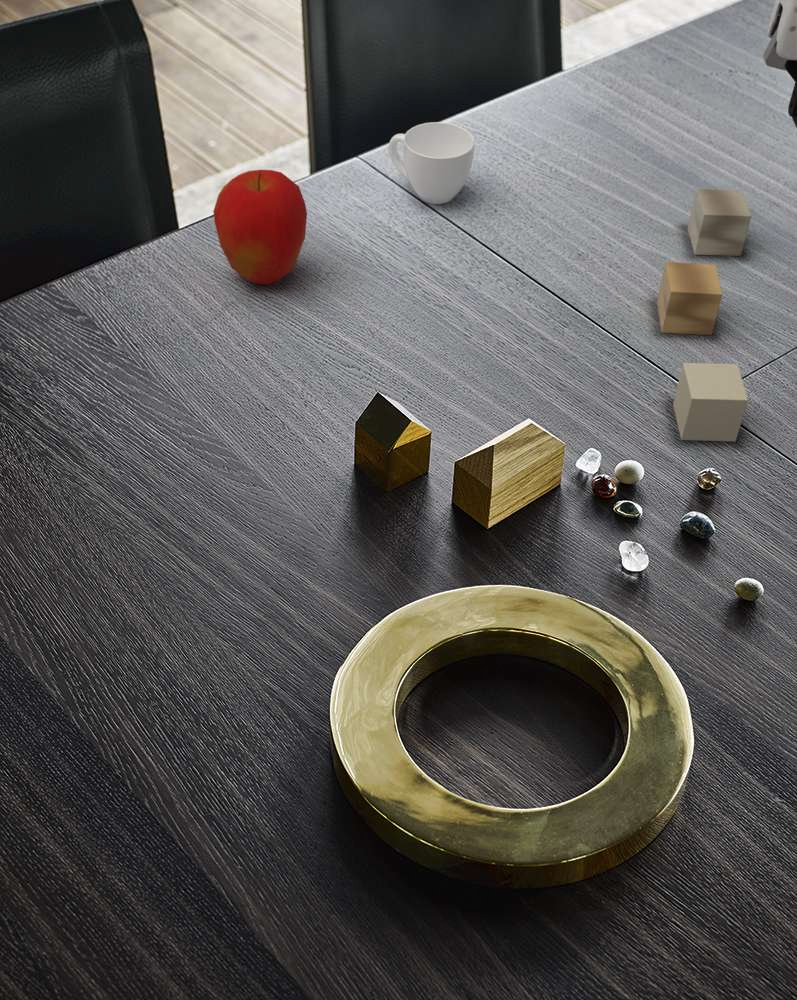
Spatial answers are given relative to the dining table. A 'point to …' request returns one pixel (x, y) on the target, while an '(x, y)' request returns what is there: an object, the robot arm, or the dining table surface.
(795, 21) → the robot arm
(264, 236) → the apple
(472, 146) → the cup
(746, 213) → the ash block
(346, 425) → the dining table surface
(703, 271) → the maple block
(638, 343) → the dining table surface
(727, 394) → the cream block
